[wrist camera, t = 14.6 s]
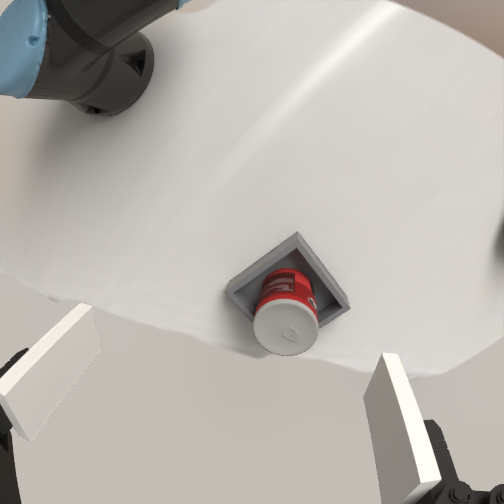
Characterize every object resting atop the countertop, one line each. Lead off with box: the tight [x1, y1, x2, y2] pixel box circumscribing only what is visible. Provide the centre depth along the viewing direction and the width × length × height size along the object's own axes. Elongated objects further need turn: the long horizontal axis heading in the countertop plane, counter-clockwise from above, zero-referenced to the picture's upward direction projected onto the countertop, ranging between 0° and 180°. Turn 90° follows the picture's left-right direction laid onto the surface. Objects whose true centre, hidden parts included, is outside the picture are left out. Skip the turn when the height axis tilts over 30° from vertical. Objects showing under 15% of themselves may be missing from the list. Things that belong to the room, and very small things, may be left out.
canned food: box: [253, 268, 319, 356], centre depth 41 cm, size 8×8×11 cm
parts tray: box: [225, 231, 350, 328], centre depth 45 cm, size 13×13×4 cm
